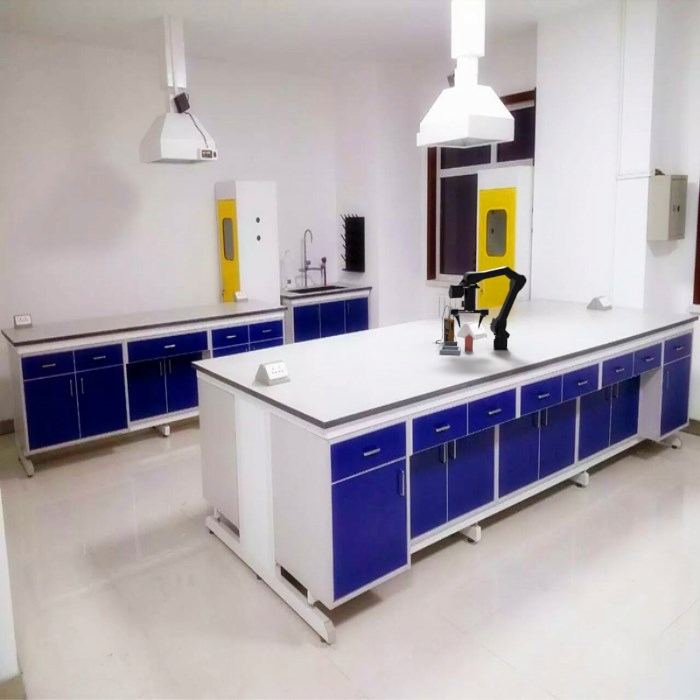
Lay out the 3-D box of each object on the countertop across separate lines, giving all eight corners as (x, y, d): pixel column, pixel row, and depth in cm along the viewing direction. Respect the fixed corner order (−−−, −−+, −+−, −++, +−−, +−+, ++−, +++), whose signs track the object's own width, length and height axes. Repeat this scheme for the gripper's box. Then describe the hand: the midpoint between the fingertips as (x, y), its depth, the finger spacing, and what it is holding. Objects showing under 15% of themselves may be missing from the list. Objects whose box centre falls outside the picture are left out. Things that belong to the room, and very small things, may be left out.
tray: (460, 350, 321) (460, 346, 321) (459, 354, 312) (460, 350, 311) (440, 349, 323) (440, 345, 323) (439, 354, 314) (439, 350, 313)
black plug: (457, 348, 327) (457, 341, 327) (456, 348, 324) (457, 341, 324) (442, 348, 329) (442, 341, 329) (442, 347, 325) (442, 341, 325)
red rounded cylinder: (472, 349, 322) (473, 332, 320) (472, 351, 318) (473, 333, 316) (464, 349, 323) (465, 332, 321) (464, 351, 319) (464, 333, 317)
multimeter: (428, 341, 343) (428, 305, 338) (445, 340, 346) (445, 303, 341) (440, 347, 329) (440, 309, 325) (457, 345, 332) (458, 307, 328)
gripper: (489, 295, 320) (488, 325, 324) (451, 295, 324) (451, 325, 327) (489, 298, 309) (488, 329, 313) (450, 298, 313) (450, 329, 317)
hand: (469, 328), depth 318 cm, fingers open, 9 cm apart
